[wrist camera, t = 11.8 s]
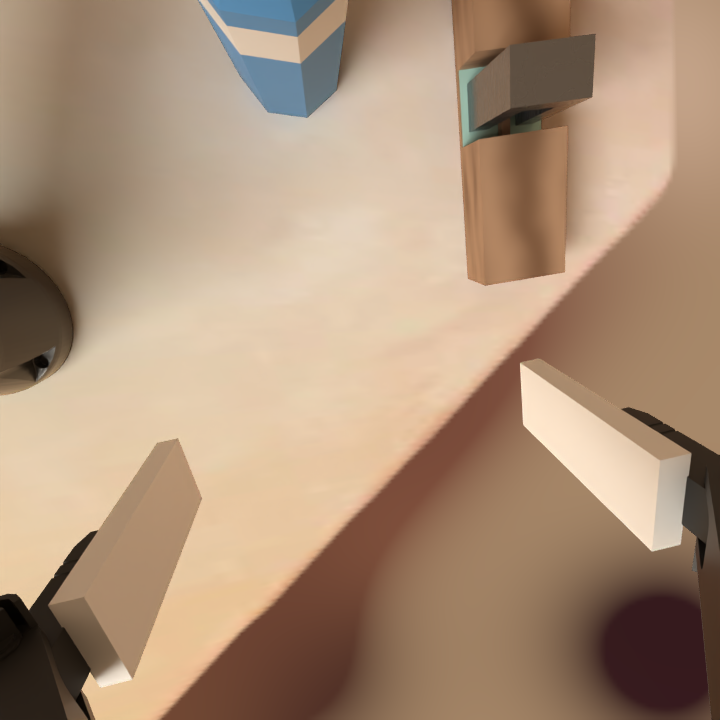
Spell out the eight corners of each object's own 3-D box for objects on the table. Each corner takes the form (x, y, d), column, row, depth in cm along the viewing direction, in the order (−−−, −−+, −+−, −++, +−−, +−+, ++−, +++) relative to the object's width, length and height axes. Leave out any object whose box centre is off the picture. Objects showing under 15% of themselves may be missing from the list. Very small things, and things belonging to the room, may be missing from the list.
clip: (469, 132, 39) (510, 108, 31) (467, 84, 38) (509, 44, 29) (533, 123, 39) (592, 97, 31) (533, 75, 38) (595, 33, 29)
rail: (467, 278, 44) (485, 285, 40) (448, -48, 35) (469, -89, 30) (538, 266, 45) (564, 272, 40) (539, -60, 35) (573, -103, 30)
